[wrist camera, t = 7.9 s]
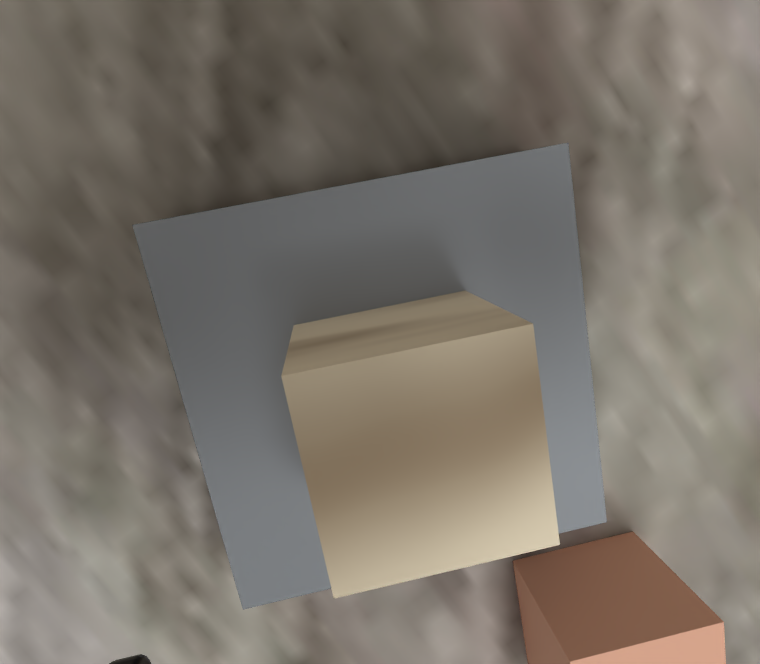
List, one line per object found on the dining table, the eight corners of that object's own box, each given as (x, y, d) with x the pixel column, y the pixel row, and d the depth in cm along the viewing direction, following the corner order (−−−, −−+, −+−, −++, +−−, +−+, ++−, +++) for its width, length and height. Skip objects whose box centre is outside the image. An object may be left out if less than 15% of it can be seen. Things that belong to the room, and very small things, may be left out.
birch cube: (488, 448, 16) (559, 545, 12) (329, 484, 16) (333, 598, 11) (465, 290, 15) (533, 323, 10) (293, 325, 15) (281, 376, 10)
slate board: (565, 478, 20) (606, 521, 17) (254, 551, 20) (243, 609, 17) (527, 155, 18) (568, 142, 15) (164, 224, 17) (132, 224, 14)
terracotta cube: (641, 633, 22) (729, 748, 18) (527, 663, 22) (586, 788, 17) (631, 530, 21) (723, 621, 16) (512, 559, 21) (570, 661, 16)
